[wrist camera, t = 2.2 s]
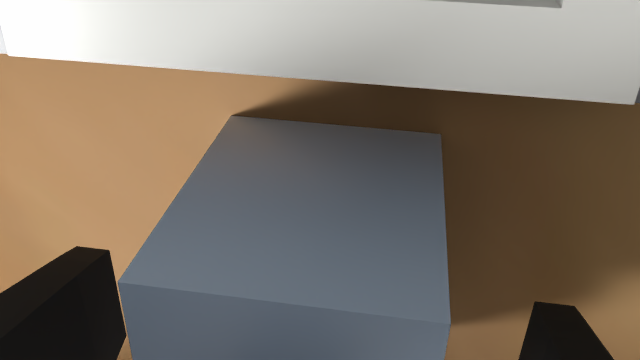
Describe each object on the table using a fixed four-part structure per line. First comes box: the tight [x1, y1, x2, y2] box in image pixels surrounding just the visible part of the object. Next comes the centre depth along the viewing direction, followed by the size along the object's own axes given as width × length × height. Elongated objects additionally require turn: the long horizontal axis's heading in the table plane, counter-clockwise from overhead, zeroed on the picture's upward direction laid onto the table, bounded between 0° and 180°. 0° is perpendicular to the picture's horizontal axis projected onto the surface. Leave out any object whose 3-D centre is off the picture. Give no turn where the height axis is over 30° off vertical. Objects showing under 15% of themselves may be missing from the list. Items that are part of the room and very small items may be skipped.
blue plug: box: [118, 116, 451, 360], centre depth 10 cm, size 5×4×7 cm
